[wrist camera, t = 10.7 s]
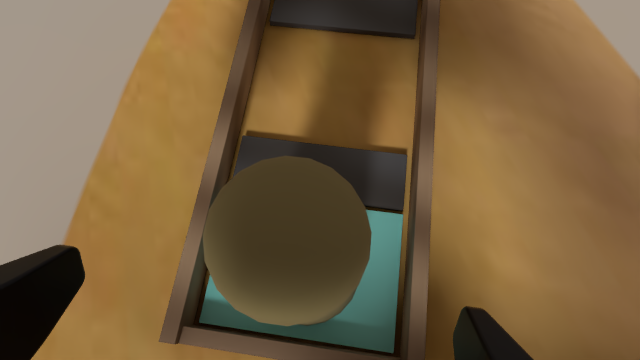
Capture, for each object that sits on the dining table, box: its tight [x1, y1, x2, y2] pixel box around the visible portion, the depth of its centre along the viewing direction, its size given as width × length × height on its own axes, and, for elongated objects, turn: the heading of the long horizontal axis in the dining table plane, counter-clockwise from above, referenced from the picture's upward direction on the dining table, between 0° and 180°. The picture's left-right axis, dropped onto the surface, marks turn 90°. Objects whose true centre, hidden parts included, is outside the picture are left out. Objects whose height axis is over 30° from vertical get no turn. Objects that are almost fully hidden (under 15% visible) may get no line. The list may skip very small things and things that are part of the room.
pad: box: [199, 210, 403, 353], centre depth 20 cm, size 7×10×1 cm
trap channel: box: [159, 0, 440, 360], centre depth 22 cm, size 26×13×2 cm, turn 172°
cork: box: [203, 156, 372, 326], centre depth 15 cm, size 6×6×11 cm
